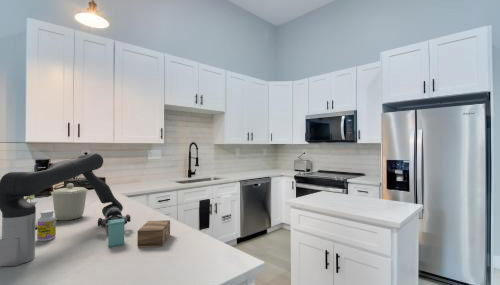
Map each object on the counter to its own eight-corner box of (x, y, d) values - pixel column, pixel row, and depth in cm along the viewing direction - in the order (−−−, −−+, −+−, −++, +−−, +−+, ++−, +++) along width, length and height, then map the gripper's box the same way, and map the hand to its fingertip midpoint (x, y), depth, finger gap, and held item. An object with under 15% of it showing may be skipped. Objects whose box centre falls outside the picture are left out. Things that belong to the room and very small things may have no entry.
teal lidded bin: (124, 244, 108) (124, 221, 108) (108, 247, 104) (108, 223, 105) (123, 240, 113) (123, 218, 113) (107, 242, 110) (108, 220, 110)
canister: (42, 221, 142) (42, 184, 142) (71, 213, 159) (72, 180, 160) (67, 223, 137) (67, 186, 138) (94, 215, 155) (95, 181, 155)
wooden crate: (162, 246, 105) (162, 229, 106) (137, 247, 105) (137, 230, 105) (170, 234, 120) (170, 220, 120) (148, 235, 119) (148, 220, 119)
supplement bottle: (33, 242, 110) (34, 213, 111) (41, 237, 117) (42, 210, 117) (51, 240, 112) (51, 212, 112) (58, 235, 119) (58, 209, 119)
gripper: (98, 210, 128) (97, 218, 114) (128, 207, 135) (131, 213, 121) (98, 225, 128) (97, 234, 114) (128, 220, 135) (131, 229, 121)
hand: (115, 223), depth 118 cm, fingers open, 8 cm apart
